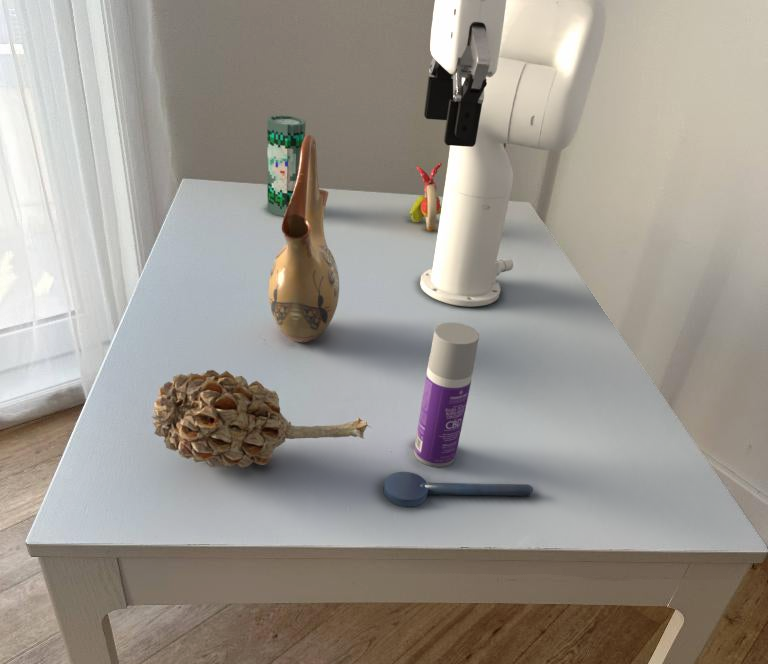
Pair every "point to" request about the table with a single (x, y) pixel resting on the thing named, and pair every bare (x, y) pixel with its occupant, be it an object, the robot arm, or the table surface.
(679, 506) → the table surface
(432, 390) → the container
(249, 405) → the pine cone
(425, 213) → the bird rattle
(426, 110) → the robot arm
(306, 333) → the ceramic vessel
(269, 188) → the can
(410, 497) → the spoon
